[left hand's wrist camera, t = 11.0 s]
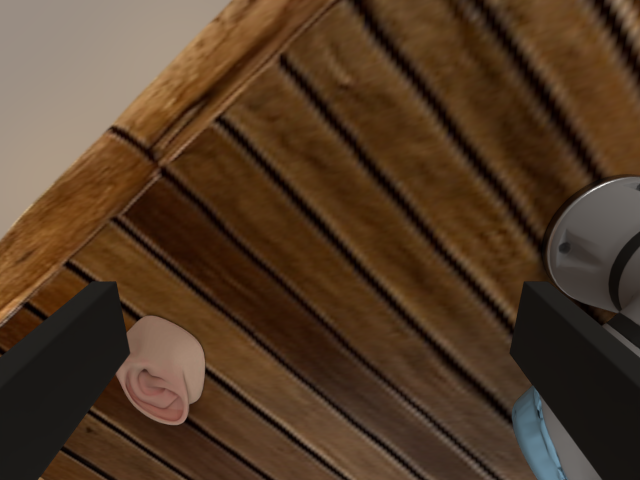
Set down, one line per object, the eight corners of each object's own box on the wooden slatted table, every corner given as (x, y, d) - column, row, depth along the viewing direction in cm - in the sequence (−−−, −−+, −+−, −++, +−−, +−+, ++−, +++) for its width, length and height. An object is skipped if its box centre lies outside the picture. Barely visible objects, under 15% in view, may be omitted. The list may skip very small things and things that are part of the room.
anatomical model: (110, 325, 45) (209, 351, 46) (126, 307, 48) (218, 332, 50) (96, 412, 49) (187, 434, 50) (112, 390, 53) (196, 410, 54)
